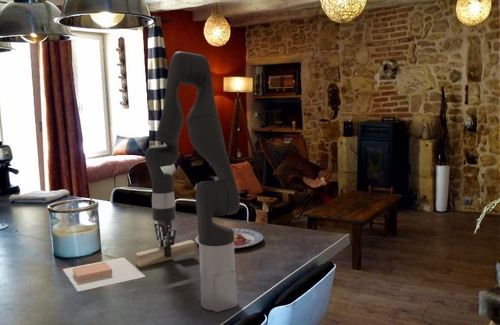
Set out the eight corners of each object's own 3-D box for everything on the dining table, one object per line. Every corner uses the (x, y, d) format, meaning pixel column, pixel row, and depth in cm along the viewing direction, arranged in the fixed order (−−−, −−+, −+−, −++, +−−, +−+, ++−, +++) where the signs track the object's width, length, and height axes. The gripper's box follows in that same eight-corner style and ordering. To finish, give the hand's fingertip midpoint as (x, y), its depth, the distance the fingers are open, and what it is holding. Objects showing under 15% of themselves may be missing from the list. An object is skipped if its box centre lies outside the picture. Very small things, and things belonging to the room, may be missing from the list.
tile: (112, 269, 146) (78, 276, 141) (112, 275, 146) (78, 282, 141) (104, 262, 153) (72, 268, 147) (105, 267, 153) (73, 274, 148)
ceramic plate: (182, 248, 176) (181, 240, 176) (218, 230, 199) (218, 223, 199) (242, 257, 164) (242, 249, 164) (274, 237, 187) (274, 230, 187)
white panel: (146, 279, 145) (145, 276, 145) (78, 294, 134) (77, 291, 134) (123, 260, 163) (123, 257, 163) (62, 272, 153) (62, 269, 153)
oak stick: (195, 252, 164) (194, 241, 163) (139, 267, 153) (138, 255, 153) (191, 250, 166) (190, 239, 165) (136, 264, 156) (135, 253, 155)
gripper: (182, 207, 153) (184, 259, 155) (166, 200, 165) (168, 248, 167) (160, 210, 149) (163, 263, 152) (145, 203, 161) (147, 252, 163)
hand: (165, 255), depth 159 cm, fingers closed on oak stick, 3 cm apart
